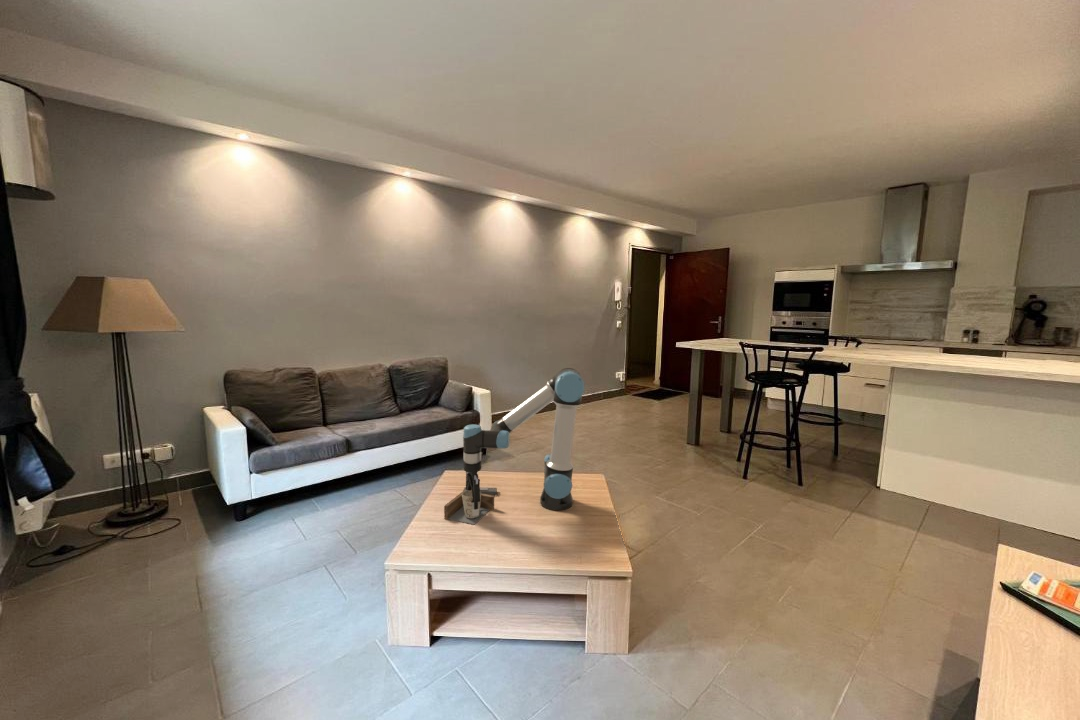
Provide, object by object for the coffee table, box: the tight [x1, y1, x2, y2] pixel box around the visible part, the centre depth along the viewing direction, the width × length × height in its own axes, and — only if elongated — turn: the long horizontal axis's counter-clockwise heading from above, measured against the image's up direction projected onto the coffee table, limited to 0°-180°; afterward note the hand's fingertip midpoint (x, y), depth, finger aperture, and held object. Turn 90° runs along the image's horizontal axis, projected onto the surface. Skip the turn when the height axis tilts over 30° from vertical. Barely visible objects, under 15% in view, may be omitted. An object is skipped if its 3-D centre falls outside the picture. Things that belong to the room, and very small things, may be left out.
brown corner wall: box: [443, 490, 495, 521], centre depth 187 cm, size 16×16×6 cm
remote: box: [462, 486, 498, 496], centre depth 207 cm, size 16×4×2 cm, turn 89°
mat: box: [448, 506, 491, 526], centre depth 186 cm, size 13×14×1 cm
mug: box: [462, 490, 481, 518], centre depth 186 cm, size 8×13×10 cm, turn 171°
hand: (472, 511), depth 185 cm, fingers open, 7 cm apart
